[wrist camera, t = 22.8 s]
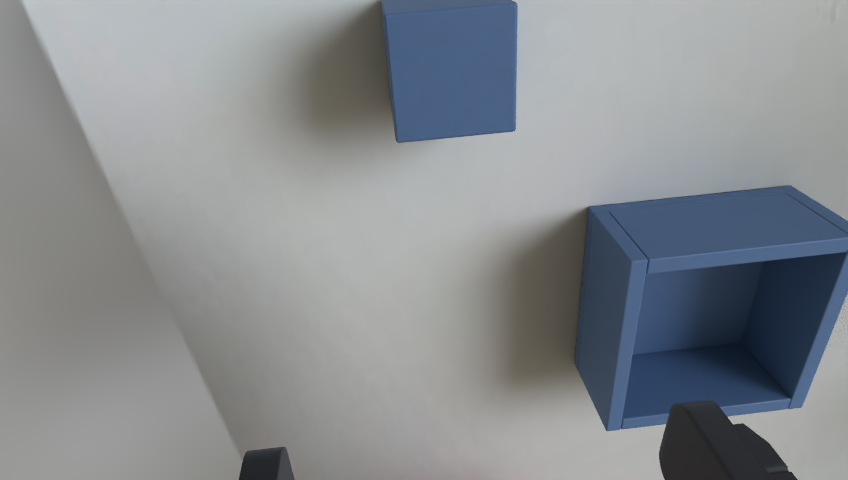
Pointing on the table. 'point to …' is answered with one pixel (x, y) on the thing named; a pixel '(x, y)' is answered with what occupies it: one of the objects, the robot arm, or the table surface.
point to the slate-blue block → (451, 67)
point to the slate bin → (708, 302)
